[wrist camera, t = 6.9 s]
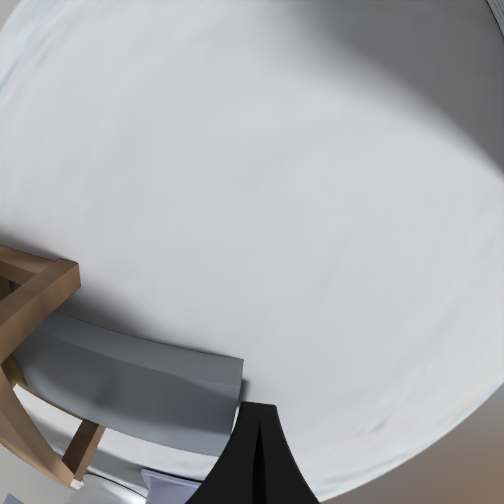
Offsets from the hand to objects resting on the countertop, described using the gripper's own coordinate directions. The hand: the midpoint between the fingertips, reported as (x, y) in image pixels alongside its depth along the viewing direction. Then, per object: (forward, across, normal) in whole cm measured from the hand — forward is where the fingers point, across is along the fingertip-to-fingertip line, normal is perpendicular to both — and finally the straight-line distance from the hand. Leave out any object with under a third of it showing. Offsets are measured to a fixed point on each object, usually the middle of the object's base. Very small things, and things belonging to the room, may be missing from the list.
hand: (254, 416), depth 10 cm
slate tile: (+2, +7, +1) cm, 7 cm away
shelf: (+1, +12, 0) cm, 12 cm away
